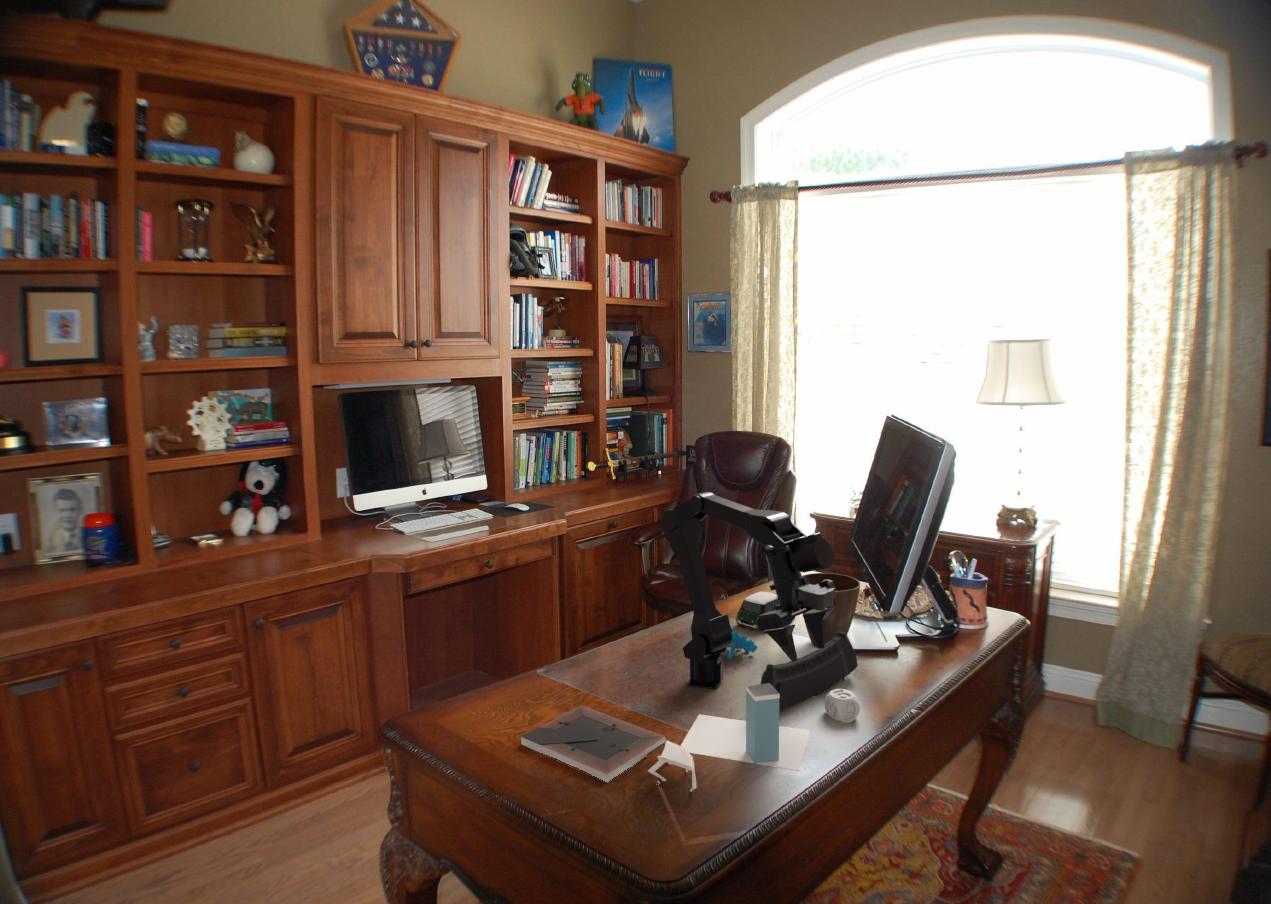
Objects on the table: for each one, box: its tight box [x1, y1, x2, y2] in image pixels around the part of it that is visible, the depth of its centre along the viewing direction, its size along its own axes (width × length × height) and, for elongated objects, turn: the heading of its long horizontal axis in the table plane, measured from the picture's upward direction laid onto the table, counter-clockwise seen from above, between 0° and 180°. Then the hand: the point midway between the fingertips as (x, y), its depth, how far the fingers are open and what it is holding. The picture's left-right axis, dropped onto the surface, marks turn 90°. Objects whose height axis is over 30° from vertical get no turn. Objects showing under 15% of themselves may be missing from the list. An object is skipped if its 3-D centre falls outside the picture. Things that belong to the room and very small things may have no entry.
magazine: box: [760, 631, 859, 712], centre depth 169 cm, size 17×3×30 cm
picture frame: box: [520, 704, 667, 784], centre depth 151 cm, size 16×2×22 cm
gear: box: [726, 629, 758, 660], centre depth 191 cm, size 11×6×10 cm
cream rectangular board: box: [680, 713, 811, 771], centre depth 151 cm, size 22×15×1 cm
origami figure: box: [647, 739, 697, 792], centre depth 138 cm, size 12×8×5 cm
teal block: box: [745, 683, 780, 764], centre depth 144 cm, size 4×4×12 cm
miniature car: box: [734, 591, 796, 633], centre depth 214 cm, size 9×18×8 cm, turn 137°
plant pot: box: [802, 572, 861, 649], centre depth 197 cm, size 15×15×16 cm
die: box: [823, 688, 861, 724], centre depth 160 cm, size 5×5×5 cm
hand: (808, 654), depth 157 cm, fingers open, 9 cm apart
